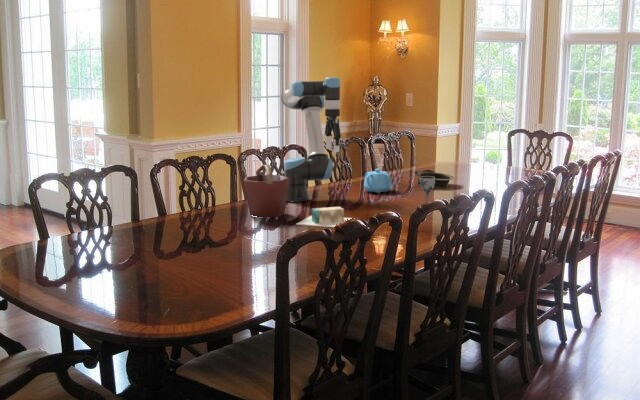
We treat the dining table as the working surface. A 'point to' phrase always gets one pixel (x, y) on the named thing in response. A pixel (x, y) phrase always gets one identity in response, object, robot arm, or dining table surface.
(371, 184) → the decorative pot
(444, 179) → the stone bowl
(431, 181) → the wine glass
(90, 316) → the dining table surface
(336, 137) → the robot arm
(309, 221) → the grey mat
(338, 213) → the teal and beige block
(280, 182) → the bucket
